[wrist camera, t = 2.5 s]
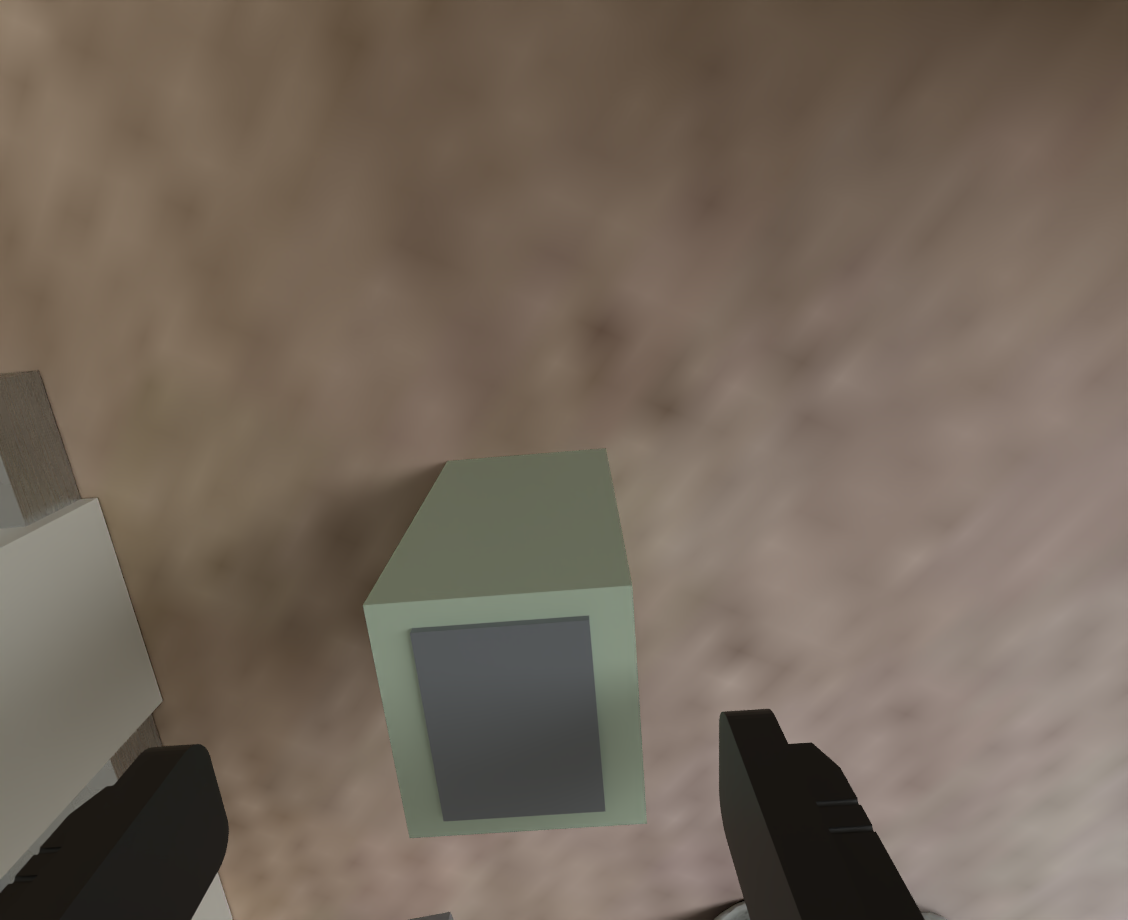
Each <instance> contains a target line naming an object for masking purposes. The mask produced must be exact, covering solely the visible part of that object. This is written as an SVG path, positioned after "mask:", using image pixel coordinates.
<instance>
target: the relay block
mask: <svg viewBox="0 0 1128 920" xmlns="http://www.w3.org/2000/svg"><path fill="white" fill-rule="evenodd" d="M410 920H453V917H452V915H451V912H447V913H442V914H436V915H431V916H426V917H420V918H415V919H410Z"/></svg>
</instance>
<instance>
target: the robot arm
mask: <svg viewBox="0 0 1128 920" xmlns="http://www.w3.org/2000/svg"><path fill="white" fill-rule="evenodd" d="M719 796H720V807H721V814H722V820H723V826H724V831H725V835H726V839H727V842H728V846H729V849H730V852H731V856H732V859H733V863H734V866H735V869H736V873H737V876H738V880H739V883H740V887H741V890H742V893H743V897H744V900H745V904H746V907H747V911H748V914H749V917H750V920H925V919H924V917H923V916H922V914H921V912H920V910H919V908H918V907H917V905H916V903H915V901H914V899H913V898H912V896H911V894H910V892H909V890H908V889H907V887H906V885H905V883H904V881H903V880H902V878H901V876H900V874H899V872H898V871H897V869H896V867H895V865H894V863H893V862H892V860H891V858H890V856H889V854H888V853H887V851H886V849H885V847H884V845H883V844H882V842H881V840H880V838H879V836H878V835H877V833H876V832H874V831H873V829H872V824H871V822H870V820H869V819H868V817H867V815H866V813H865V811H864V810H863V808H862V806H861V805H859V804H858V800H857V797H856V795H855V793H854V792H853V790H852V788H851V786H850V784H849V783H848V781H847V779H846V777H845V775H844V774H843V772H842V770H841V768H840V767H839V766H838V765H837V764H835V763H834V762H833V761H832V760H831V759H830V758H829V757H828V756H826V755H825V754H824V753H823V752H822V751H821V750H820V749H818V748H817V747H816V746H815V745H814V744H813V743H798V744H788V742H787V740H786V738H785V736H784V734H783V732H782V730H781V728H780V726H779V724H778V721H777V719H776V717H775V715H774V714H773V712H772V711H771V710H770V709H758V710H743V711H727V712H721V714H720V720H719ZM228 834H229V828H228V820H227V816H226V812H225V809H224V805H223V802H222V798H221V794H220V791H219V787H218V784H217V780H216V776H215V773H214V769H213V766H212V762H211V759H210V755H209V753H208V751H207V749H206V748H205V747H204V746H203V745H200V744H193V745H178V746H163V747H151V748H148V749H146V750H144V751H143V752H142V753H141V754H140V755H139V756H138V757H137V758H136V759H135V760H134V762H133V763H132V764H131V765H130V766H129V768H128V769H127V770H126V771H125V772H124V773H123V775H122V776H121V777H120V778H119V779H118V781H117V782H116V783H115V784H114V785H113V786H106V787H105V788H104V789H102V790H101V791H100V792H98V793H97V794H96V795H94V796H93V797H92V798H90V799H89V800H88V801H86V802H85V803H84V804H82V805H81V806H80V807H78V808H77V809H76V810H75V811H73V812H72V813H71V814H69V815H68V816H67V817H66V818H65V820H64V821H63V822H62V823H61V824H60V825H59V826H58V828H57V829H56V830H55V831H54V832H53V833H52V834H51V836H50V837H49V838H48V839H47V840H46V841H45V842H44V844H43V845H42V846H41V847H40V848H39V849H40V851H39V853H38V855H33V856H32V857H31V858H30V859H29V861H28V862H27V863H26V864H25V865H24V866H23V867H22V869H21V870H20V871H19V872H18V873H17V874H16V875H15V880H14V882H13V883H12V884H8V885H7V886H6V887H5V888H4V889H3V890H2V891H1V893H0V920H191V919H192V917H193V916H194V914H195V912H196V910H197V908H198V907H199V905H200V903H201V901H202V899H203V897H204V896H205V894H206V892H207V890H208V888H209V887H210V885H211V883H212V881H213V879H214V878H215V876H216V874H217V872H218V870H219V868H220V866H221V864H222V862H223V859H224V856H225V853H226V848H227V843H228Z"/></svg>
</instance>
